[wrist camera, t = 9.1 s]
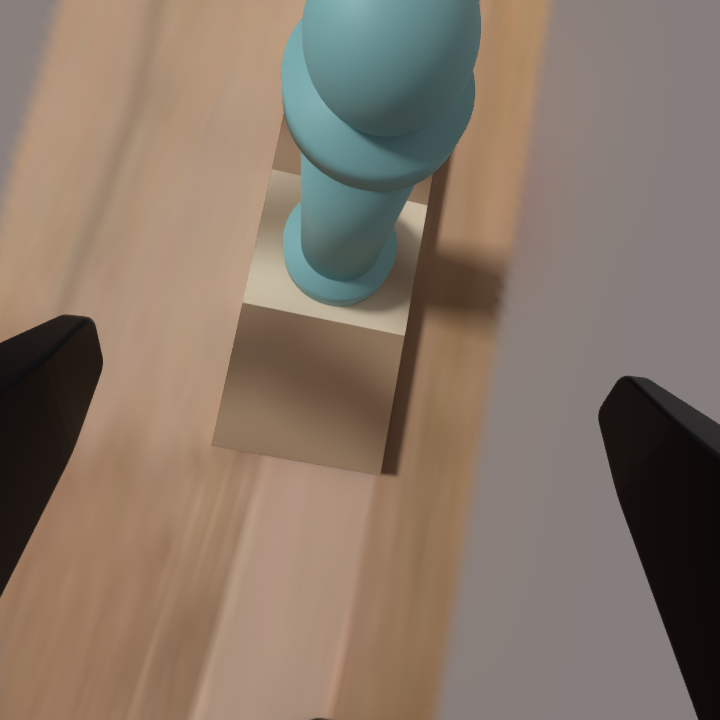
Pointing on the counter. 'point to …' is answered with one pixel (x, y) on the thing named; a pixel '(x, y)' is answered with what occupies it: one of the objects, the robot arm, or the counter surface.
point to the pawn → (369, 129)
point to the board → (316, 346)
